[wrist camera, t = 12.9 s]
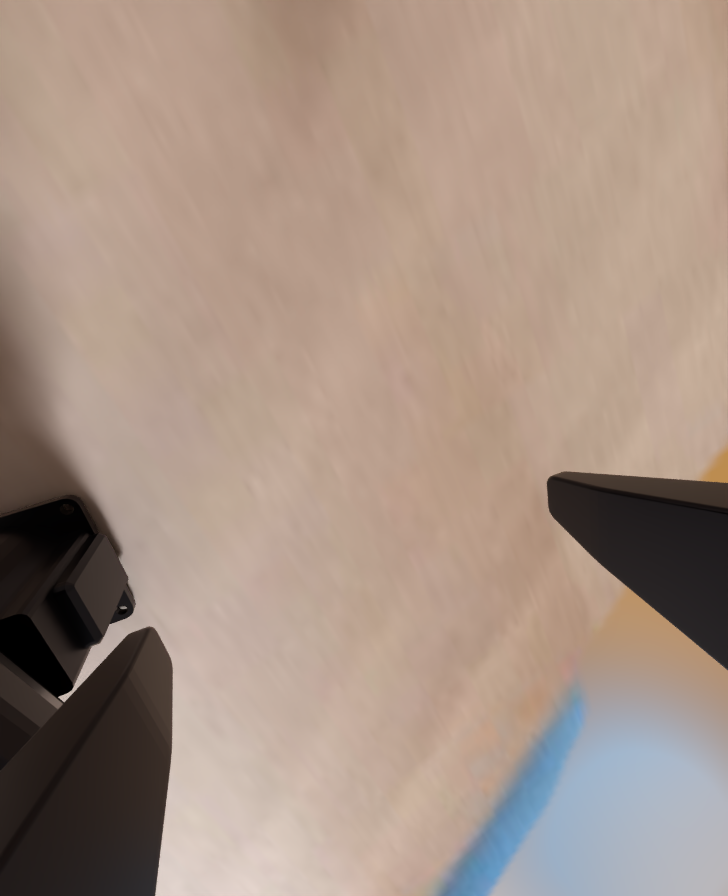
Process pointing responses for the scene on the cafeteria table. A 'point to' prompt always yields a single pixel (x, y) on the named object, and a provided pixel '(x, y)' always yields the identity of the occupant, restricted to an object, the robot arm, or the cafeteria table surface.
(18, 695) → the robot arm
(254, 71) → the cafeteria table surface
